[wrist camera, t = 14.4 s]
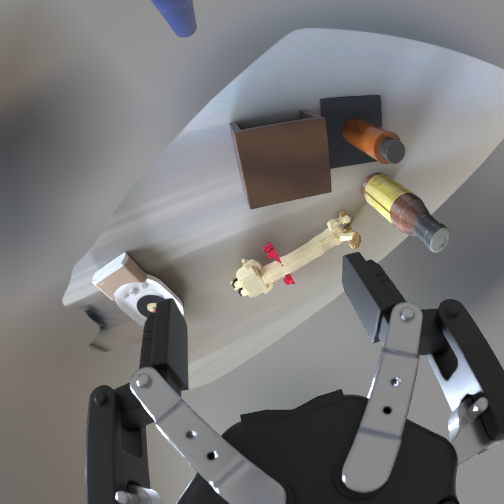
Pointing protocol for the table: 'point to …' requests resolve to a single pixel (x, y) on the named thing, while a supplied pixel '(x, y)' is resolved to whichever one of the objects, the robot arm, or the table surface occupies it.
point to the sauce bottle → (405, 211)
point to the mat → (337, 116)
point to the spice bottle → (374, 140)
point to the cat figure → (291, 259)
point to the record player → (132, 288)
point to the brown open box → (283, 160)
